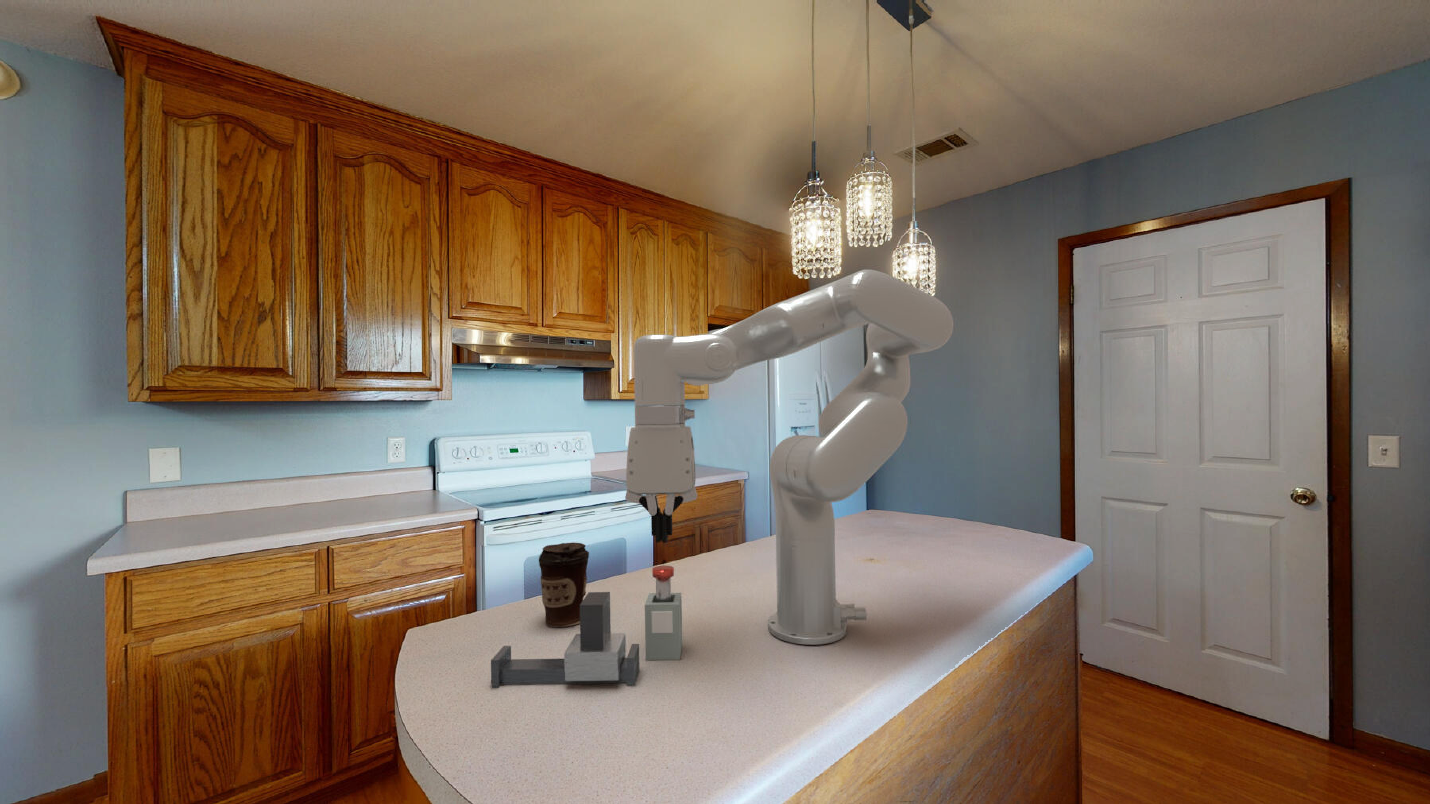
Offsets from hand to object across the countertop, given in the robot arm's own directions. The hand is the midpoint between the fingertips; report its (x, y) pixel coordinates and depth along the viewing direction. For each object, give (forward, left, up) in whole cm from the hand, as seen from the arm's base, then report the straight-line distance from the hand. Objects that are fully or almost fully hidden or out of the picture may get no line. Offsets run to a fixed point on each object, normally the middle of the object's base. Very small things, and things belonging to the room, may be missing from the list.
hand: (662, 540), depth 83 cm
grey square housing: (0, 0, -17) cm, 17 cm away
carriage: (+9, +8, -17) cm, 20 cm away
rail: (+12, +8, -17) cm, 22 cm away
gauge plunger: (0, 0, -11) cm, 11 cm away
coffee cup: (+18, -12, -17) cm, 28 cm away
